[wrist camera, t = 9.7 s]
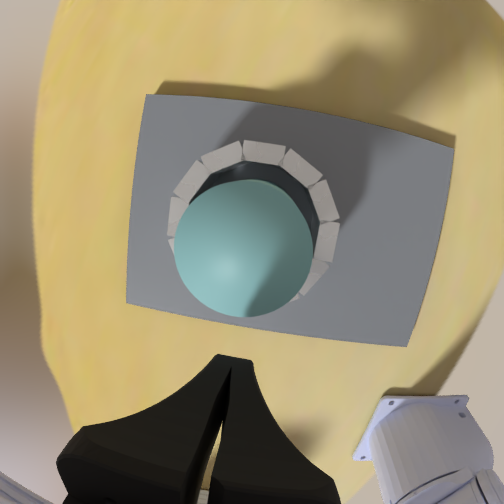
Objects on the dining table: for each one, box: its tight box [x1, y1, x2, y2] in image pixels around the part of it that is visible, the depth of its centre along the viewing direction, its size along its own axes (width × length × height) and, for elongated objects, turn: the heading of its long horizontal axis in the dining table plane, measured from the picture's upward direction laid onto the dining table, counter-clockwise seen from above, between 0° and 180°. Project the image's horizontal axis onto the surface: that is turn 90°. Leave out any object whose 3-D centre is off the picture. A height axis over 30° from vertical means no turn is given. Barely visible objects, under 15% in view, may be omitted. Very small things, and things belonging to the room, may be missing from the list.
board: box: [126, 94, 454, 347], centre depth 20 cm, size 20×14×1 cm
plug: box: [174, 179, 313, 317], centre depth 15 cm, size 5×5×8 cm
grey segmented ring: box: [167, 140, 340, 302], centre depth 18 cm, size 9×9×3 cm
